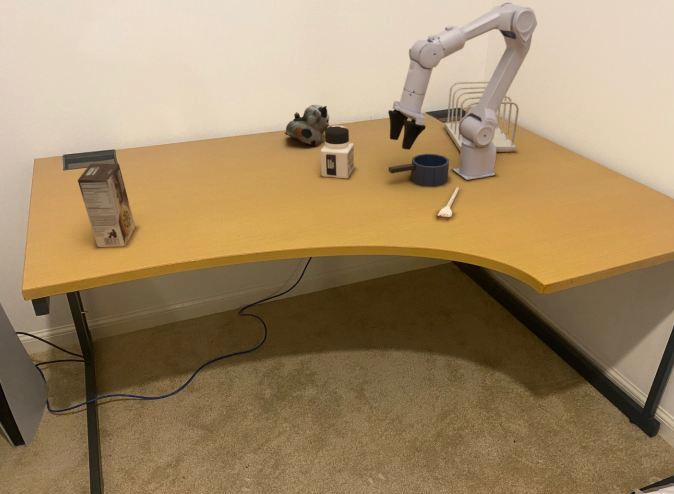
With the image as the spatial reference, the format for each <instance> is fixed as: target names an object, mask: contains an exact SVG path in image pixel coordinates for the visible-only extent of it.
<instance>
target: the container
mask: <svg viewBox="0 0 674 494" xmlns="http://www.w3.org/2000/svg"><path fill="white" fill-rule="evenodd" d="M324 143H325V144H324V145H323V146H322V148H321V149H320V174H321V177H324V178H337V179H349V177H350V176H351V174H352V172H353V171H354V168H355V161H354V160H355V159H354V148H355V147H354V143H353V142H350V131H349V128H347V127H346V126H344V125H331V126H330V125H329V126H328V127H327V128H326V130H325V131H324Z"/></svg>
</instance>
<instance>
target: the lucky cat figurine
mask: <svg viewBox="0 0 674 494" xmlns="http://www.w3.org/2000/svg"><path fill="white" fill-rule="evenodd" d="M293 116H294V118H293V119H292V120H291V121H289V122H288V123H287V125H286V127H285V132H284V135H286V136H288V137H290V138H293V139H296V140H299V142H302V143H304V144H308V145H310V146H311V145H312V146H313V147H317V146H319V145H320V144H321V143H322V142H323V135H324V133H325V130H326V128H328V127H330V123H329V121H330V115H329V114H328V108H327V105H324V106H322V105H320V104H311V105H309V106H308V107H305V109H304V112H303V115H302V116H300V113H299V112H297V111H296V112H295V113H294V115H293Z"/></svg>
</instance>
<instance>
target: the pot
mask: <svg viewBox="0 0 674 494" xmlns="http://www.w3.org/2000/svg"><path fill="white" fill-rule="evenodd" d="M449 169H450V159H449V158H448V157H446V156H444V155H440V154H436V153H423V154H417V155H415V156H413V157H412V158H411V162H410V163H406V164H399V165H392V166H388V172H389V173H390V174H396V173H397V174H398V173H403V172H410V181H411V182H413V183H414V184H415V185H417V186H421V187H432V188H435V187H440V186H443V185H445V184H446V183H448V179H449Z"/></svg>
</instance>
